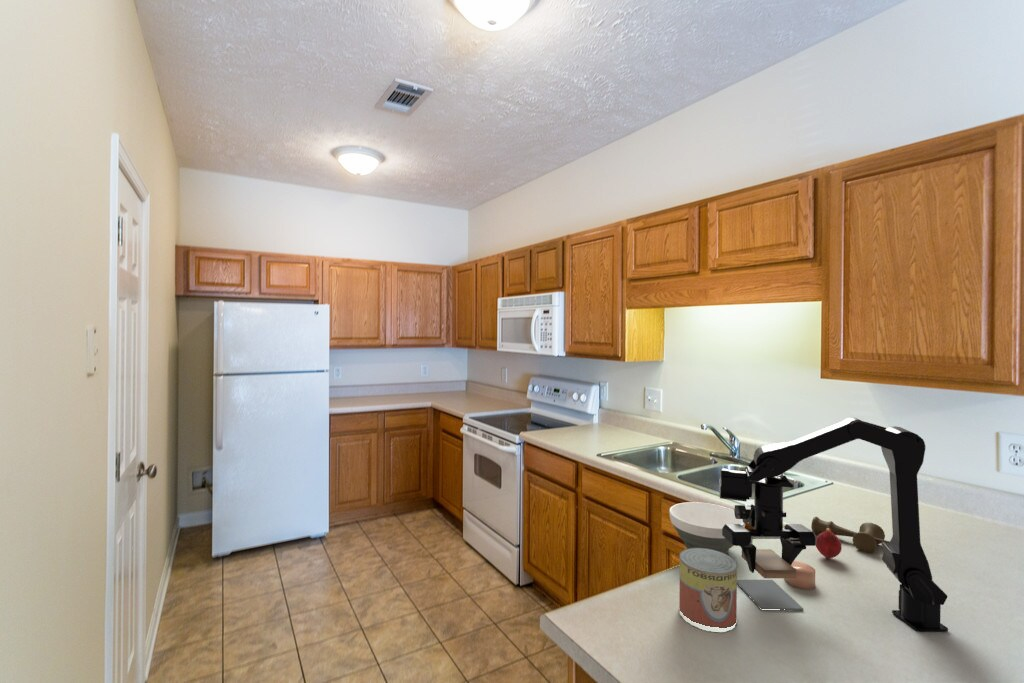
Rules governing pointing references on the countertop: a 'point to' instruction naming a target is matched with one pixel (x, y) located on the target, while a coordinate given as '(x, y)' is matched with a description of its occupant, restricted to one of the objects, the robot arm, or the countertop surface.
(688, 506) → the bowl
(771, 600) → the mat
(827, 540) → the onion
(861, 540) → the kendama
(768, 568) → the cover
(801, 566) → the peach rounded knob
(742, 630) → the countertop surface
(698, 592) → the canned food
